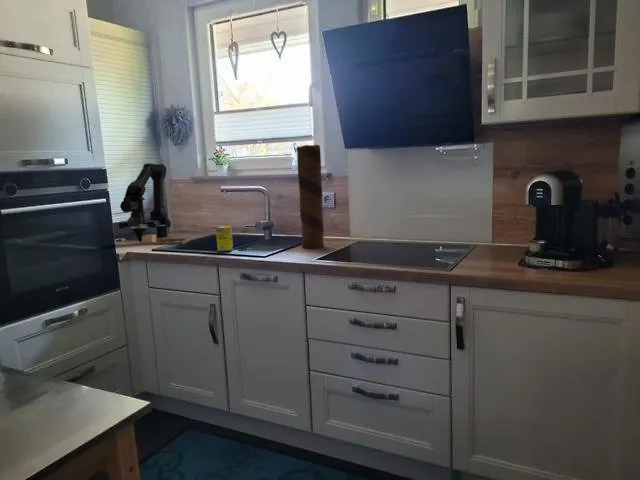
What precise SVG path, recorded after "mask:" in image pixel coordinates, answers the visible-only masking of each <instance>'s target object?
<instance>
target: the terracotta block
mask: <svg viewBox="0 0 640 480" xmlns="http://www.w3.org/2000/svg"><path fill="white" fill-rule="evenodd" d="M156 239H157V234H144V236H142V242H141V243H146V242H156Z"/></svg>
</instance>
